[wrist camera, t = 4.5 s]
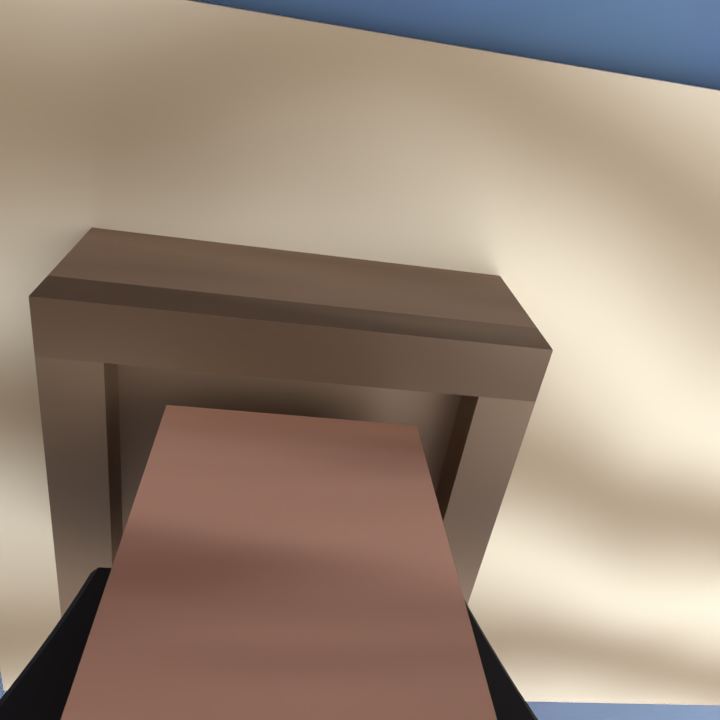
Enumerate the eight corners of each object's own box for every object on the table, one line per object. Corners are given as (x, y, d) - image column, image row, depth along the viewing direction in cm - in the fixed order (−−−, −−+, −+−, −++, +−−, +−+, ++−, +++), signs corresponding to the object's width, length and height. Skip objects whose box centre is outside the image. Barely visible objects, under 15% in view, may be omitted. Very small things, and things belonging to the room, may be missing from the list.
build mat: (777, 690, 22) (860, 810, 19) (12, 671, 19) (-50, 815, 15) (1163, 165, 14) (1435, 218, 10) (-107, -51, 10) (-302, -75, 7)
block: (377, 595, 12) (432, 1023, 7) (164, 586, 12) (56, 1043, 7) (416, 425, 11) (529, 838, 5) (166, 404, 10) (18, 844, 5)
